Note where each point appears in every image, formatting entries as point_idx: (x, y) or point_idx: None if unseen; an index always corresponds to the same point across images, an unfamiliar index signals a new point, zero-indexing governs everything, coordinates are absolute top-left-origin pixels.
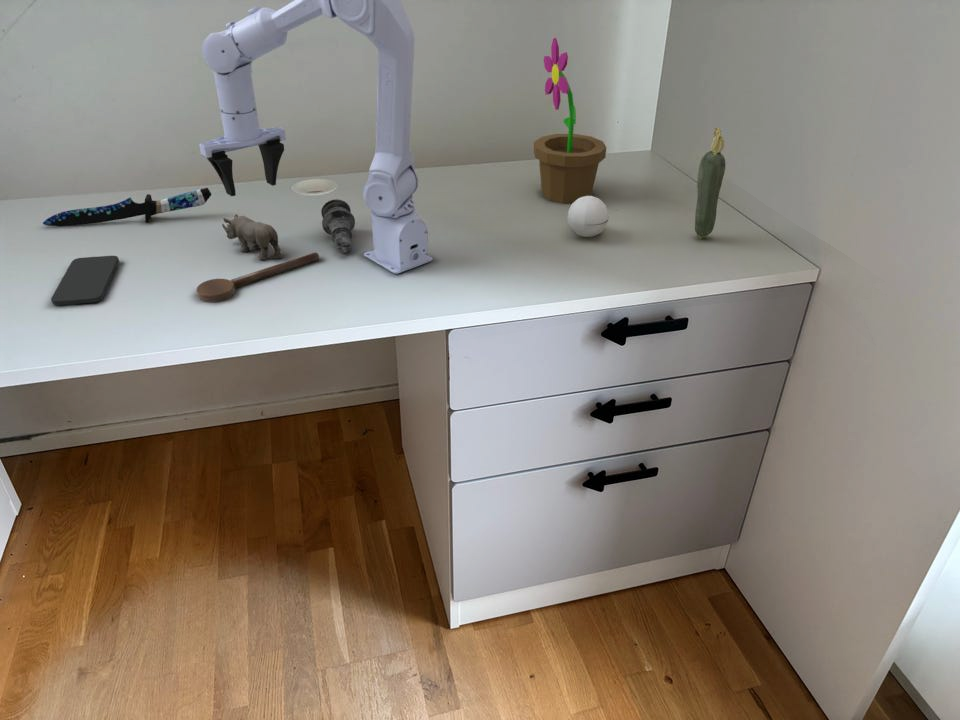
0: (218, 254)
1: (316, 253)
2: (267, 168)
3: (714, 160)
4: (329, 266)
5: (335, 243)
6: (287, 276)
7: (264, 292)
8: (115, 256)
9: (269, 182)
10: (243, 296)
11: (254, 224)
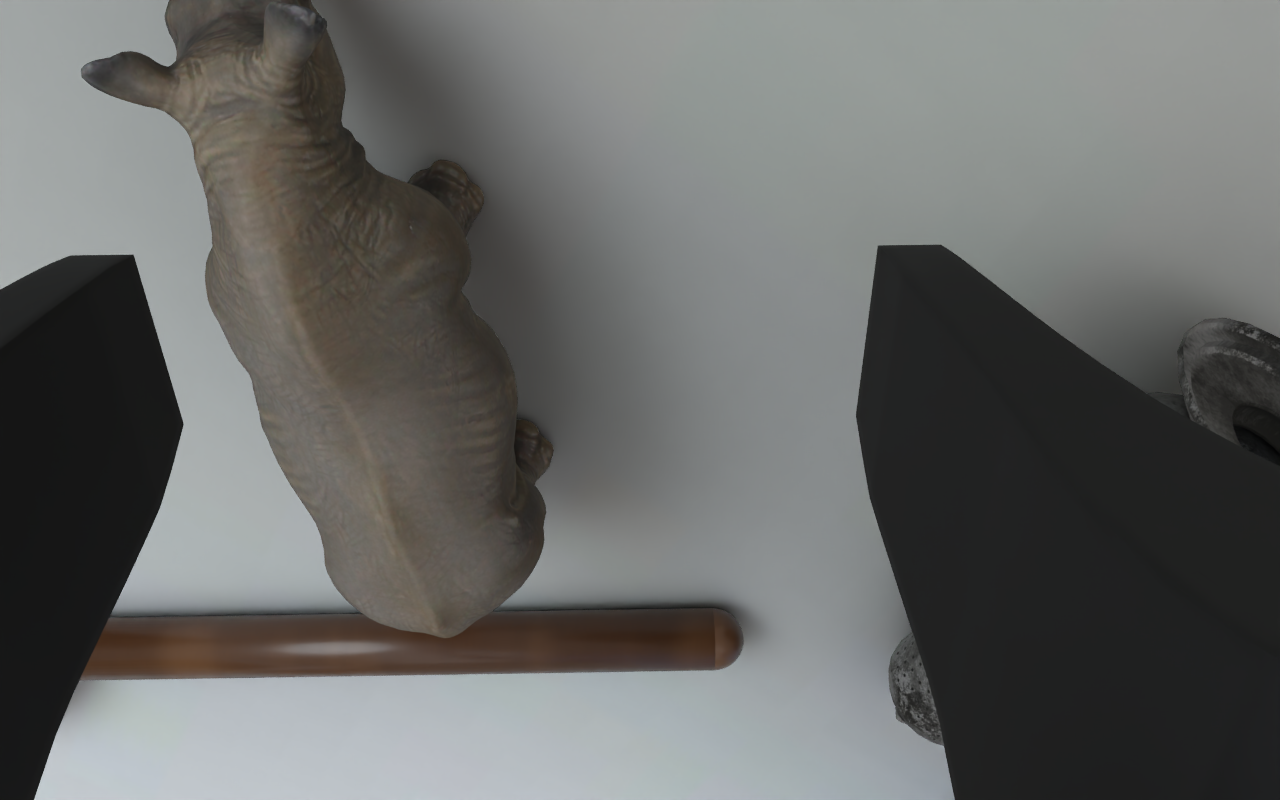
0: (57, 86)
1: (723, 665)
2: (951, 486)
3: None
4: (730, 709)
5: (904, 677)
6: (439, 677)
7: (234, 745)
8: None
9: (870, 354)
10: (102, 723)
11: (352, 521)
